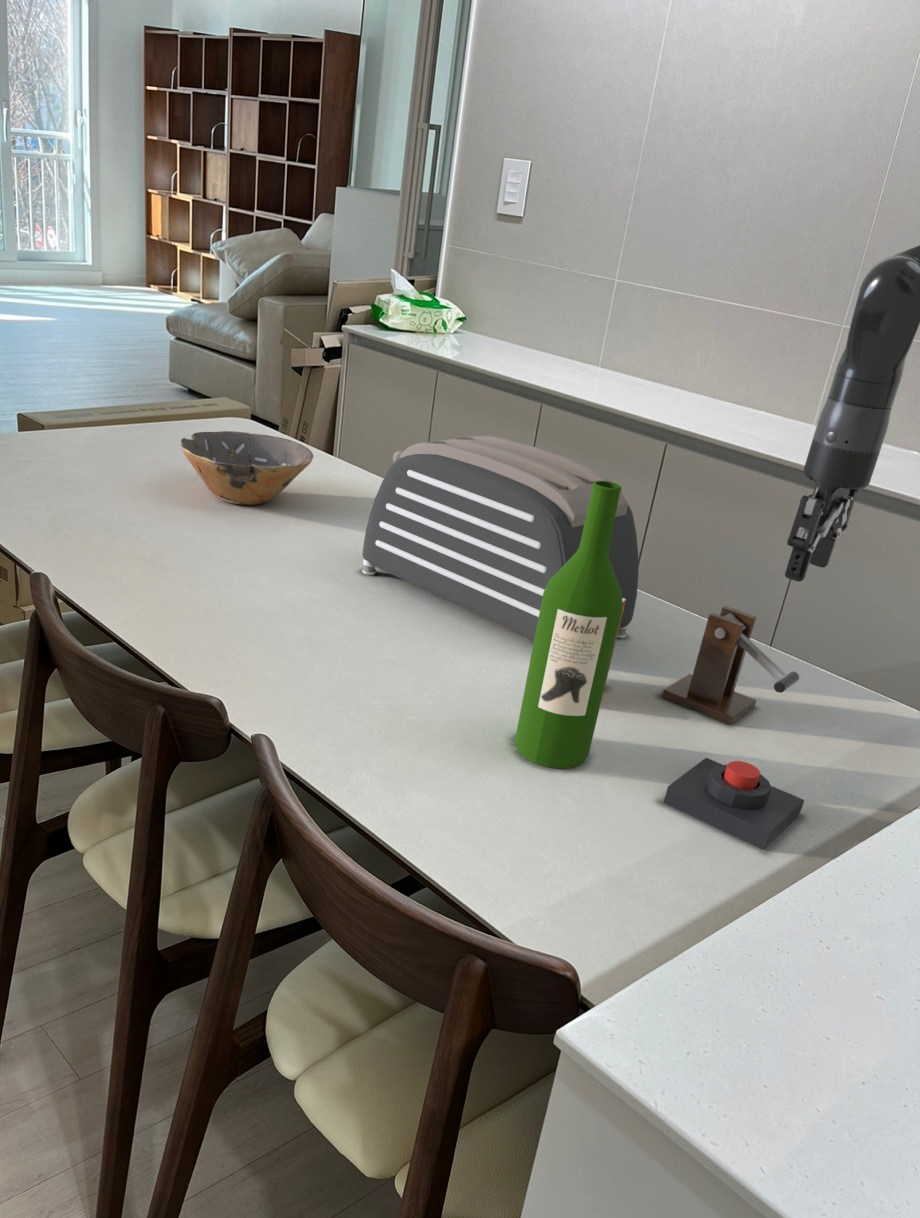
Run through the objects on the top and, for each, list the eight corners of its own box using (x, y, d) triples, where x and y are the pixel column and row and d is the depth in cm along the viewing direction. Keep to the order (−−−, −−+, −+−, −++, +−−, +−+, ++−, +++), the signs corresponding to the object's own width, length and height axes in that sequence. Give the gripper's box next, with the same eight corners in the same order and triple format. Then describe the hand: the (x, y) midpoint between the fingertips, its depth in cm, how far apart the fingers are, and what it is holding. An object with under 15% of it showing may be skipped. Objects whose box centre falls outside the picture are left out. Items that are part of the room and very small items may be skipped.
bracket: (754, 707, 144) (781, 621, 138) (730, 725, 138) (757, 635, 132) (687, 681, 149) (710, 596, 143) (661, 697, 144) (684, 609, 138)
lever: (791, 686, 138) (804, 674, 136) (777, 697, 135) (789, 685, 133) (723, 622, 141) (735, 610, 140) (707, 631, 138) (719, 618, 136)
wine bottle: (516, 764, 123) (570, 491, 108) (511, 727, 131) (561, 468, 116) (592, 773, 123) (657, 501, 108) (583, 736, 131) (642, 478, 116)
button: (761, 783, 118) (765, 770, 117) (748, 794, 115) (752, 781, 115) (731, 770, 120) (735, 757, 119) (717, 781, 117) (722, 767, 117)
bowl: (306, 526, 191) (310, 471, 186) (168, 512, 190) (169, 457, 185) (312, 486, 213) (316, 437, 209) (188, 474, 212) (190, 424, 207)
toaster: (421, 546, 188) (440, 410, 177) (632, 636, 161) (669, 483, 150) (342, 565, 175) (356, 419, 164) (556, 665, 149) (591, 500, 138)
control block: (798, 816, 120) (809, 786, 118) (764, 850, 113) (775, 819, 111) (701, 773, 126) (710, 744, 124) (663, 802, 119) (671, 772, 117)
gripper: (860, 457, 116) (816, 594, 124) (897, 441, 126) (854, 569, 134) (794, 440, 120) (755, 575, 128) (835, 427, 130) (796, 552, 138)
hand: (806, 572), depth 131 cm, fingers open, 8 cm apart
